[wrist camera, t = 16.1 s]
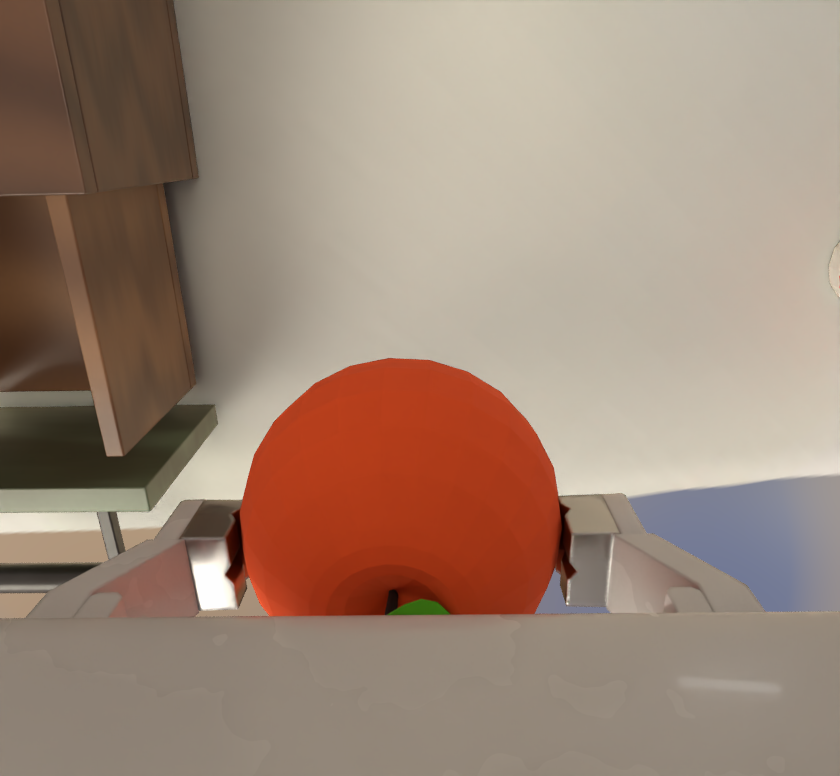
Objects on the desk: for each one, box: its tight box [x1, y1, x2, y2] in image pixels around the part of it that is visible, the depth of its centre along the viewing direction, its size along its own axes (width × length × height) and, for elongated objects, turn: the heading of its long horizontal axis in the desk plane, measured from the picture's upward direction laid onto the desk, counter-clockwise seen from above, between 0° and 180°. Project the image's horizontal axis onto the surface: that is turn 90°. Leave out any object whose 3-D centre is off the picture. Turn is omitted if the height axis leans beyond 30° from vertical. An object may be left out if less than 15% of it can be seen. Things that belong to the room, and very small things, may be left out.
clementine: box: [240, 358, 562, 616], centre depth 14 cm, size 8×7×7 cm
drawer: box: [0, 183, 218, 593], centre depth 28 cm, size 23×13×9 cm, turn 1°
